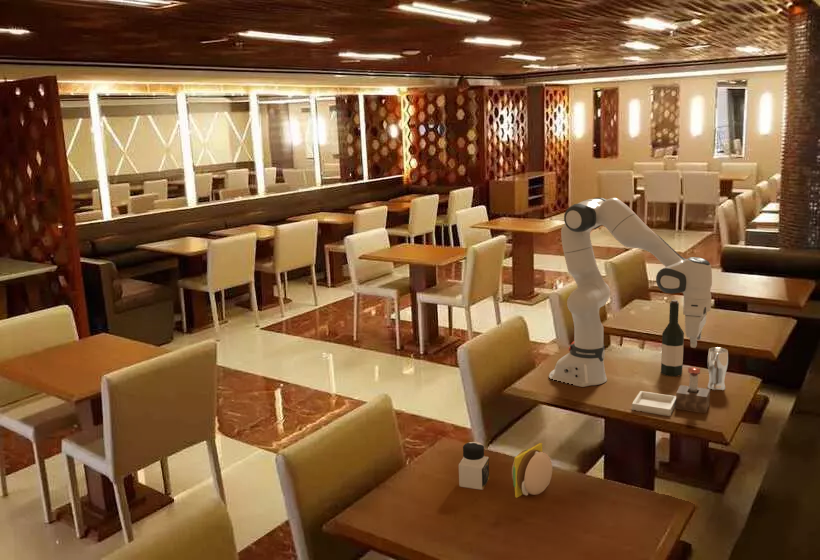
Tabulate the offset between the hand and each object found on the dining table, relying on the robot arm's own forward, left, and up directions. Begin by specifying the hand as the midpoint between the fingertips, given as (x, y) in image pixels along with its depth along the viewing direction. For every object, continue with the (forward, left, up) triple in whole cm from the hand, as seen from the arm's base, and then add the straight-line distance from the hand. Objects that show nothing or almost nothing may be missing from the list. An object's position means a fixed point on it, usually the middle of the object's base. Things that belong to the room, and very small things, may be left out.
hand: (695, 343), depth 247 cm
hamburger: (-30, -79, -24) cm, 88 cm away
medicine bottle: (-47, -82, -24) cm, 98 cm away
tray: (-12, -5, -24) cm, 27 cm away
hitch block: (0, 0, -24) cm, 24 cm away
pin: (0, 0, -24) cm, 24 cm away
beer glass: (+5, +22, -24) cm, 33 cm away
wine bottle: (-13, +32, -24) cm, 42 cm away
